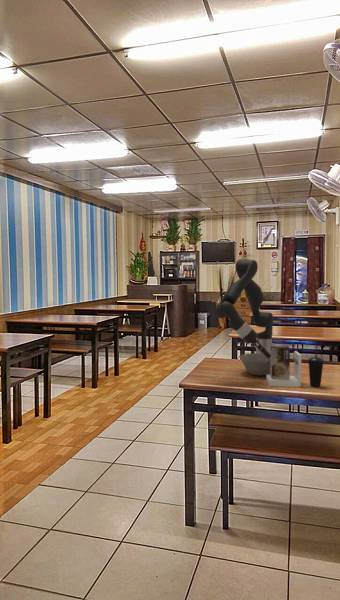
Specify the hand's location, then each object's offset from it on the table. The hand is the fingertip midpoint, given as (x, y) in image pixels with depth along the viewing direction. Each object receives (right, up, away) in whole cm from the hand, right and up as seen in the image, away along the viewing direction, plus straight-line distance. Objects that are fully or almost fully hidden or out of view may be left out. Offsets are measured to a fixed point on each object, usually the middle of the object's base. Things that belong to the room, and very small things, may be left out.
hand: (268, 355), depth 217 cm
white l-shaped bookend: (+7, -14, 0) cm, 16 cm away
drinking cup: (+22, -15, -4) cm, 27 cm away
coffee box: (+6, -12, 0) cm, 13 cm away
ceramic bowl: (0, -14, +21) cm, 25 cm away
